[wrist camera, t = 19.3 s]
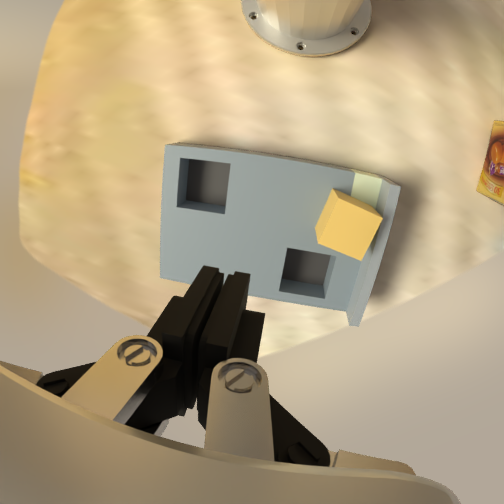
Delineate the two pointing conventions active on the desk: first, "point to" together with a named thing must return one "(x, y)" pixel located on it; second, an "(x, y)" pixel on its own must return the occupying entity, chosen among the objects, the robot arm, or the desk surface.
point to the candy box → (494, 166)
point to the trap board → (268, 224)
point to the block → (347, 225)
